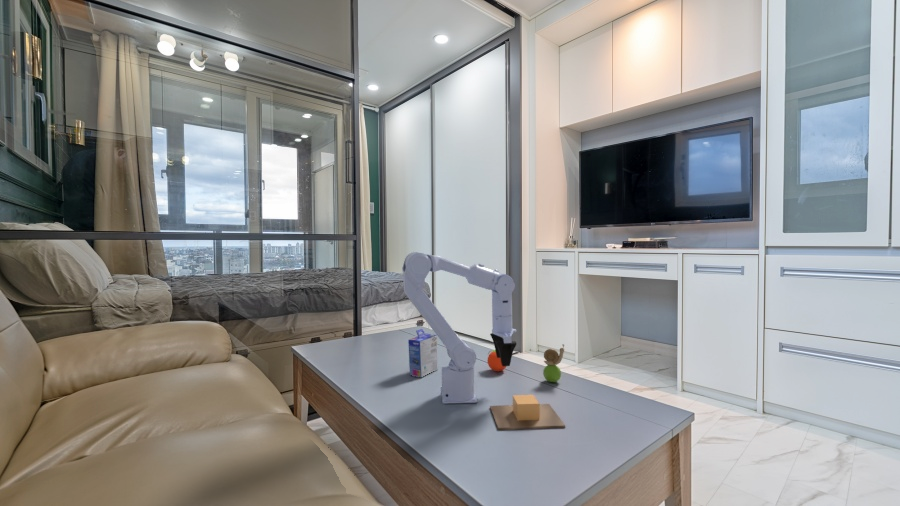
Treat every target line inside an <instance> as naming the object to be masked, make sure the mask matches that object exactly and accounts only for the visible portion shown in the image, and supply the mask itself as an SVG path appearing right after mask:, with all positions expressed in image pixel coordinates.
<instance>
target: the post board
mask: <svg viewBox="0 0 900 506" xmlns="http://www.w3.org/2000/svg"><path fill="white" fill-rule="evenodd" d="M539 404H540V420H519V421H518V420H517V418H516V416H515V414H514V412H513V404H512V405H511V404H510V405H509V404H507V405H506V404H505V405H502V404H501V405H490V406H489V407H490V408H489V409H490V410H491V414H492V416H493V420H494V422H495V424H496V427H497V430H498V431H509V430H533V429H534V430H536V429H562V428H566V423H564V422H563V421H562V419H561V418H560V417H559V415H558V414H557V412H556V411H555V410H554V408H553V407H552V406H551V404H550V403H539Z"/></svg>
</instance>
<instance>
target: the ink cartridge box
mask: <svg viewBox="0 0 900 506" xmlns="http://www.w3.org/2000/svg"><path fill="white" fill-rule="evenodd" d="M415 332H416V335H417V336H415V337H412V338H410V339H408V342H407V343H408V359H409V360H408V362H409V363H408V365H409V375H410V376H411V375H412V376H413V377H415V376H416V378H419V377H422V378H424V377H426V376H428V375H429V373H430V374H432V373H434V372H435V371H438V368H439V365H438V340H437V338H438V336H437V335H436V334H433V333H432V334H431V333H425V331H424V329H423V328H420V329H418V330H417V329H416V330H415ZM420 332H422V333H420ZM433 371H434V372H433ZM431 372H432V373H431ZM427 374H428V375H427ZM425 375H426V376H425ZM423 376H424V377H423Z"/></svg>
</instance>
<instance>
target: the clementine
mask: <svg viewBox="0 0 900 506" xmlns="http://www.w3.org/2000/svg"><path fill="white" fill-rule="evenodd" d="M487 355H488V357H487V365H488V368H490V369H491V370H492V371H495V372H502V371H504V370H505V369H506V368H507V366H502V364H501V359H500V358H497V355H496V351H495V349H493V350H491V351H490V352H488V353H487Z"/></svg>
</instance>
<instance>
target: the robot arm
mask: <svg viewBox="0 0 900 506" xmlns="http://www.w3.org/2000/svg"><path fill="white" fill-rule="evenodd" d="M401 270H402V277H403V278H402V280H403V282H402V283H403V292H404V294H405V296H406V297H407V298H408V300H409V301H410V302H411V303H412V305H413V306H414V307H415V309H416V310H417V311H418V313H419V314H420V315H421V316H422V318H423V319H424V320H425V322H426V323H427V324H428V325H429V327H430V328H431V329H432V331H433V333H434V334H435V335H437V338H438V339H439V340H440V342H441V343H442V344H443V345H444V346H445V348H446V352H447V355H448V357H449V358H450V360H449V362H448V365H447V366H442V367H441V387H440V395H441V398H442V401H441V402H442V404H443V405H444V404H470V403H472V404H473V403H474V404H475V403H478V399H477V396H476V392H475V365H476V361H477V353H476V352H475V350H474V349H473V348H471V347H470V346H469V345H468V344H467V343H466V341H465V340H463V339H461V338H460V337H459V336H458V334H457V333H456V332H455V330H454V329H453V328H452V327H451V325H450V324H449V323H448V321H447V320H446V319H445V317H444V316H443V314H442V313H441V312H440V310H439V309H438V308H437V306H435V303H433V302H432V300H431V299H430V297H429V296H428V295H427V294H426V292H425V291H424V285H425V280H426V278H427V276H428V275H429V273H430V272H432V273H435V272H438V271H443V272H447V273H450V274H452V275H453V274H454V275H457V276H461V277H465V279H466V281H467V283H468V284H469V285H473V286H476V287H479V288H482V289H485V290H487V291H488V290H489V291H490V290H491V309H492V311H491V312H492V313H491V314H492V315H491V317H492V329H491V333H490V334H489V336H490V337H491V338H492V342H493V344H494V345H493V346H494V350H495V351H496V355H497V358H500V359H501V364H502V366H506V367H510V365H511V362H512V358H513V353H514V350H515V348H516V347H517V341H515V340H512V336H513V334H514V333H517V331H518V330H517V329H516V328H513V296H512V295H513V294H512V293H513V292H514V290H515V288H516V283H514V282H515V281H514V279H513V278H512V277H511V276H510V275H508V274H505V273H501V272H500V270H498V269H494V270H493V269H490V268H487V267H485V265H484V264H482V263H478V264H476V263H474V264H473V265H471V266H467V265H465V264H461V263H459V262H456V261H453V260H451V259H448V258H445V257H442V256H440V255H432V254H426V253H424V252H417V251H415V252H414V251H413V252H411V253H409V254H407V255H406V256H405V258H404V261H403V265H402V269H401Z"/></svg>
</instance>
